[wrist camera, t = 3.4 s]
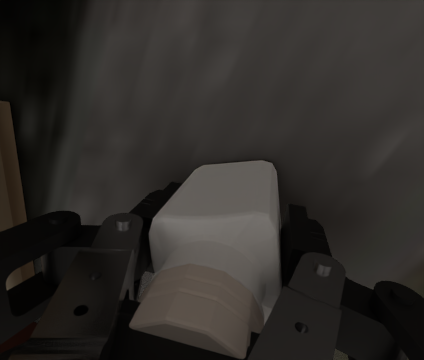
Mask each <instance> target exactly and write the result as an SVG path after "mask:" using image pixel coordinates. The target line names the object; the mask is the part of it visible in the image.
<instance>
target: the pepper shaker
mask: <svg viewBox="0 0 424 360" xmlns="http://www.w3.org/2000/svg"><path fill="white" fill-rule="evenodd" d="M149 243H150V251H151V259H152V263H153V268H154V273H155V275H153V277H152V278H151V280H150V282H149V283H148V285H147V287H146V289H145V290H144V291H143V293H142V295H141V296H140V298H139V300H138V302H141V304H140V305H139V307H138V309H137V310H136V312H135V314H134V316H133V318H132V320H131V322H130V324H129V327H130V328H131V329H134V330H138V331H141V332H145V333H148V334H152V335H156V336H159V337H163V338H166V339H170V340H174V341H177V342H181V343H184V344H188V345H192V346H195V347H199V348H202V349H206V350H210V351H213V352H217V353H220V354H224V355H228V356H231V357H235V358H238V359H244V358H245V357H246V352H247V348H248V346H250V338H251V331H252V332H255V333H259V334H260V333H261V331H262V329H263V327H264V324H265V323H266V321H267V319H268V317H269V315H270V313H271V311H272V309H273V307H274V305H275V303H276V301H277V299H278V297H279V295H280V293H281V291H282V264H281V220H280V207H279V194H278V182H277V171H276V169H275V168H274V166H273V164H272V163H270V162H267V161H263V160H259V161H247V162H235V163H222V164H211V165H202V166H201V167H199V168H197V169H195V170H194V171H193V173H192V174H191V175H190V176H189V177H188V178H187V180H186V181H185V182H184V183H183V184H182V185H181V187H180V188H179V189H178V190H177V191H176V192H175V193H174V195H173V196H172V197H171V198H170V199H169V200H168V202H167V203H166V204H165V205H164V206H163V207H162V209H161V210H160V211H159V212H158V213H157V214H156V216H155V217H154V218H153V220H152V224H151V227H150V231H149Z"/></svg>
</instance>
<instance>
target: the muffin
mask: <svg viewBox="0 0 424 360" xmlns="http://www.w3.org/2000/svg"><path fill="white" fill-rule="evenodd" d="M36 326H37V324H36V323H35V322H32V323H31V324H29V325H28V326H26V327H25V328H24V329H22V330H21V331H19V332H18V333H16V334H15V335H14V336H12V337H11V338H9V339H8V340H6V341H5V342H3V343H2V344H1V345H0V353H2V352H4V351H6V350H8V349H11V348H13V347H15V346H17V345H19V344H21V343H24V342H26V341H28V339H29V338H30V336H31V335H32V333H33V331H34V329H35V327H36Z"/></svg>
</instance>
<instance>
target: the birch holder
mask: <svg viewBox="0 0 424 360" xmlns="http://www.w3.org/2000/svg"><path fill="white" fill-rule="evenodd" d="M24 222H27V218H26V211H25V204H24V197H23V190H22V184H21V177H20V170H19V163H18V156H17V150H16V143H15V136H14V129H13V122H12V116H11V109H10V102H5V101H0V232H1V231H4V230H6V229H9V228H12V227H14V226H17V225H19V224H22V223H24ZM34 275H35V272H34V265H33V261H31V262H29V263H27V264H25V265H23V266H22V267H20V268H18V269H16V270H14V271H13V272H12V273H11V274H10V275H9V277H8V278H7V281H6V289H7V290H9V289H11V288H13V287H14V286H16V285H18V284H20V283H22V282H23V281H25V280H27V279H29V278H30V277H32V276H34Z"/></svg>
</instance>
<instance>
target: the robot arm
mask: <svg viewBox="0 0 424 360" xmlns="http://www.w3.org/2000/svg"><path fill="white" fill-rule="evenodd" d="M181 185H182V184H181V183H176V182H171V183H170V184H169V185H168V186H167V187H166V188H165V189H164V190H157V191H154V192H152V193H150V194H149V195H148V196H146V197H145V199H143V200H142V201H141V202H140V203H139V204H138V205H137V206H136V207H135V208H134V209H133V210H131V211H130V212H129V213H119V214H114V215H111V216H109V217H107V218H106V219H105V220H104V221H103V223H102V225H101V226H94V225H81V219H80V216H79V215H78V214H77V213H75V212H71V211H56V212H51V213H48V214H45V215H42V216H40V217H37V218H35V219H32V220H29V221H27V222H24V223H22V224H19V225H17V226H14V227H12V228H9V229H6V230H4V231H1V232H0V345H1V344H2V343H3V342H5V341H6V340H8V339H9V338H11V337H12V336H14V335H15V334H16V333H18V332H19V331H21V330H22V329H24V328H25V327H26V326H28V325H29V324H31V323H32V322H34V321H35V320H37V319H38V318H39V317H41V316H42V317H41V318H40V320H39V322H38V324H37V326H36V327H35V329H34V331H33V333H32V335H31V336H30V338H29V339H28V341H26V342H24V343H21V344H19V345H17V346H15V347H13V348H11V349H8V350H6V351H4V352H2V353H0V360H333V358H334V352H335V348H336V349H338V350H339V351H341V352H343V353H345V354H347V355H348V358H349V360H407V358H408V359H409V360H424V298H423V297H421V296H420V295H419V294H418V293H416V292H415V291H413V290H412V289H410V288H408V287H406V286H404V285H401V284H399V283H396V282H391V281H380V282H378V283H376V285H375V287H374V289H373V290H372V289H370V288H367V287H365V286H362V285H360V284H358V283H355V282H353V281H351V280H350V279H348V278H347V277H345V276H346V271H345V268H344V267H343V266H342V264H340V263H339V262H338V261H337V260H335V259H334V258H332V255H331V252H330V249H329V245H328V242H327V239H326V236H325V232H324V229H323V227H322V226H321V225H320V224H319V223H318V222H317V221H316V220H313V219H308V217H307V213H306V208H305V207H303V206H298V205H293V204H287V207H286V211H285V215H284V220H283V224H282V228H281V264H282V291H281V293H280V295H279V297H278V299H277V301H276V303H275V305H274V307H273V309H272V311H271V313H270V315H269V317H268V319H267V321H266V323H265V325H264V327H263V329H262V331H261V333H260V334H259V333H255V332H252V331H251V338H250V346H248V348H247V352H246V357H245V358H244V359H238V358H235V357H231V356H228V355H224V354H220V353H217V352H213V351H210V350H206V349H202V348H199V347H195V346H192V345H188V344H184V343H181V342H177V341H174V340H170V339H166V338H163V337H159V336H156V335H152V334H148V333H145V332H141V331H138V330H134V329H131V328H130V327H129V324H130V322H131V320H132V318H133V316H134V314H135V312H136V310H137V309H138V307H139V305H140V304H141V302H138V300H139V295H140V290H141V285H142V275H143V274H144V272H145V271H147V272H152V273H154V268H153V263H152V259H151V251H150V243H149V231H150V227H151V224H152V220H153V218H154V217H155V216H156V214H157V213H158V212H159V211H160V210H161V209H162V207H163V206H164V205H165V204H166V203H167V202H168V200H169V199H170V198H171V197H172V196H173V195H174V193H175V192H176V191H177V190H178V189H179V188H180V187H181ZM39 257H41V264H42V271H41V272H39V273H38V274H36V275H34V276H32V277H30V278H29V279H27V280H25V281H23V282H22V283H20V284H18V285H16V286H14V287H13V288H11V289H9V290H7V289H6V281H7V278H8V277H9V275H10V274H11V273H12V272H13V271H14V270H16V269H18V268H20V267H22V266H23V265H25V264H27V263H29V262H31V261H33V260H35V259H37V258H39Z"/></svg>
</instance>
